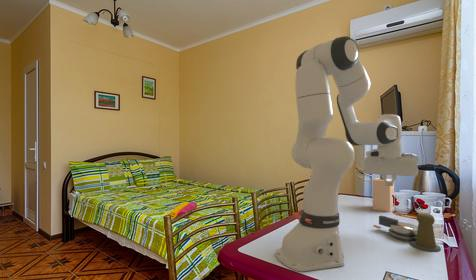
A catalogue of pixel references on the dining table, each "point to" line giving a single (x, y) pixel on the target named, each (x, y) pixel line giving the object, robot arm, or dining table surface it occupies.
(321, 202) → the robot arm
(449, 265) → the dining table surface
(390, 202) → the soap dispenser
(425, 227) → the cork
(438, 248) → the coaster
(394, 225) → the saucepan
